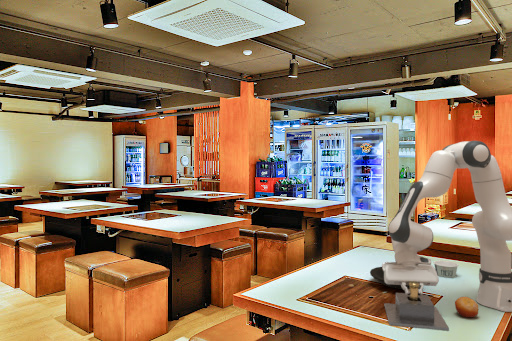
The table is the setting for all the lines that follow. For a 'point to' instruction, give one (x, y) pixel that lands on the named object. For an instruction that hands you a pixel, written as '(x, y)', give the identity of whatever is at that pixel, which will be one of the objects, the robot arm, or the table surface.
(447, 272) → the food container
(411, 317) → the block
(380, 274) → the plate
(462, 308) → the fruit
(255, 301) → the table surface
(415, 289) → the pin
